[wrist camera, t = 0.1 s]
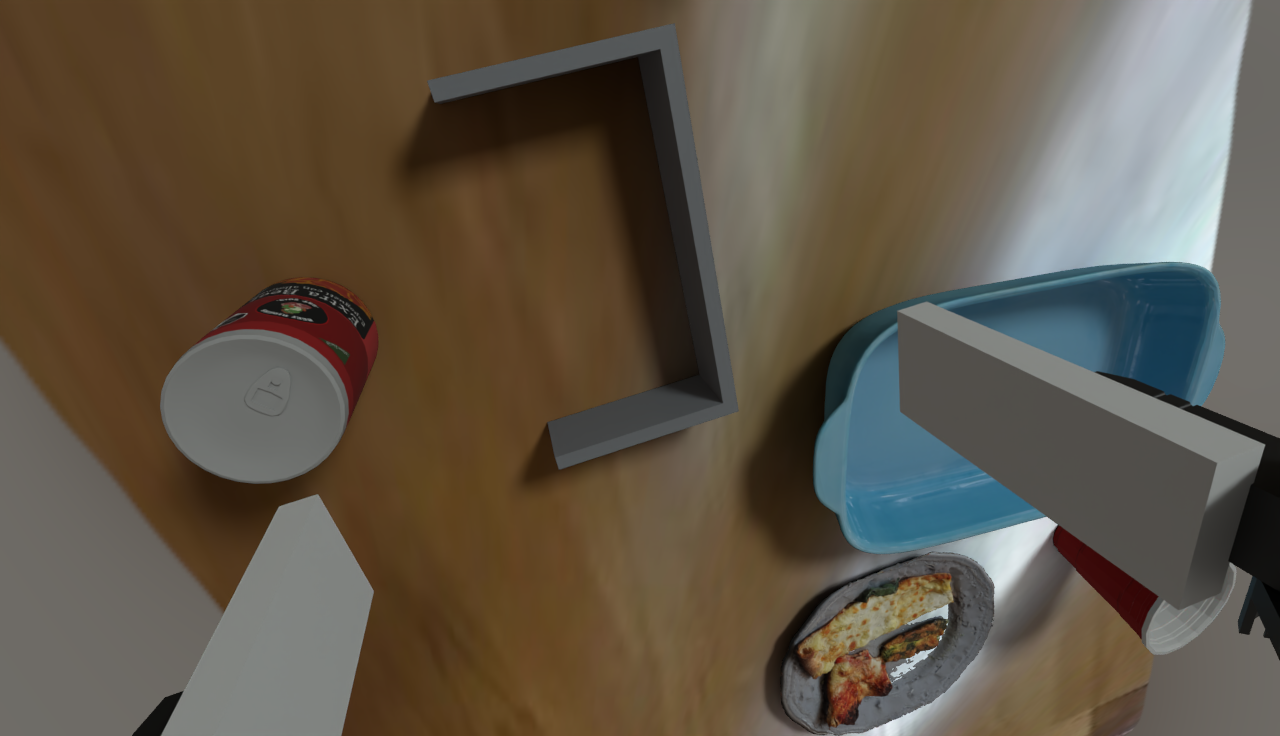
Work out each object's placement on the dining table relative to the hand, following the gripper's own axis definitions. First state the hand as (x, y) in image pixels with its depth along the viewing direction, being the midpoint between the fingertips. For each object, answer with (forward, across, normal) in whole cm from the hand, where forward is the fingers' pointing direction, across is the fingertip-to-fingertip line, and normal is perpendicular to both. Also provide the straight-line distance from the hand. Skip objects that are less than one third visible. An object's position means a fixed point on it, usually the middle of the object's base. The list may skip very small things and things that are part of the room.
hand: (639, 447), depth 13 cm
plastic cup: (+28, +47, -46) cm, 71 cm away
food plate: (+28, +23, -51) cm, 63 cm away
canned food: (+28, -15, -3) cm, 32 cm away
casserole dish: (+28, +33, -23) cm, 49 cm away
